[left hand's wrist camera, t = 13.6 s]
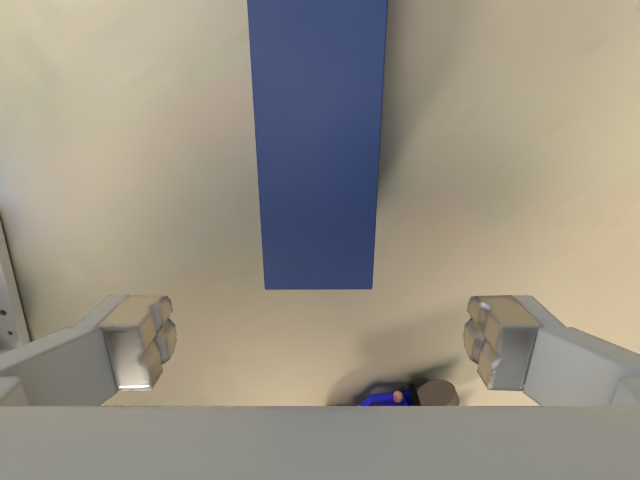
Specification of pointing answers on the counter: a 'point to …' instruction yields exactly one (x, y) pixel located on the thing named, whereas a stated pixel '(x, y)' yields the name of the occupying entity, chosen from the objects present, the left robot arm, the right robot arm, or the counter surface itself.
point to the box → (317, 138)
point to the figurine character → (418, 395)
